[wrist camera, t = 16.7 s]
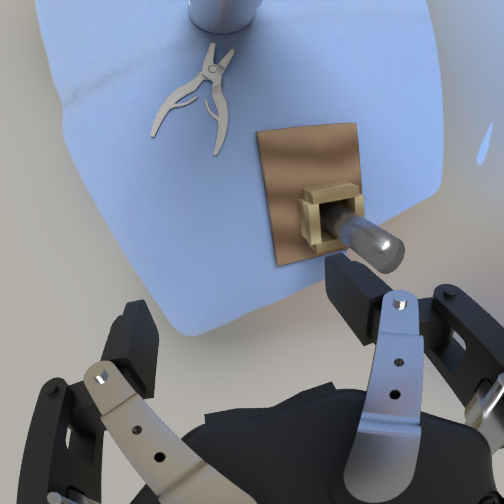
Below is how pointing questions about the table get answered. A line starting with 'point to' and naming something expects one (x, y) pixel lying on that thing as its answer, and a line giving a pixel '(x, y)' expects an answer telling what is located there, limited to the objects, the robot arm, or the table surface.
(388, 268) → the steel pin
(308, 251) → the socket board
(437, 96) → the table surface
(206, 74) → the pliers
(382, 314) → the robot arm
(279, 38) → the table surface
